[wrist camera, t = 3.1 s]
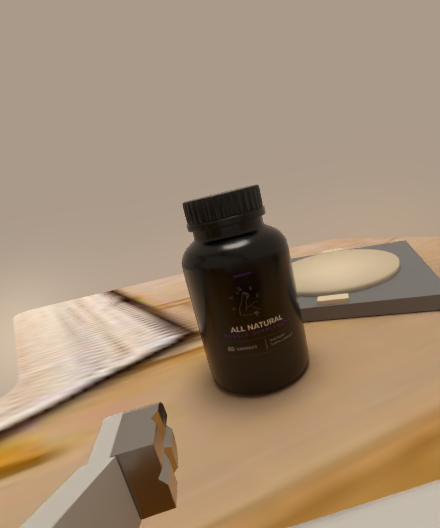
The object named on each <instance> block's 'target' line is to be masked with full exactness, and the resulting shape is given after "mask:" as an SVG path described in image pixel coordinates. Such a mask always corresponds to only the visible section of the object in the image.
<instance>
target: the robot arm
mask: <svg viewBox="0 0 440 528" xmlns="http://www.w3.org/2000/svg"><path fill="white" fill-rule="evenodd" d="M166 422H167V414H166V411H165V408H164V406H163V404H162V403H161V402H158V403H155V404H151V405H147V406H144V407H140V408H136V409H133V410H129V411H125V412H121V413H118V414H115V415H111V416H108V417H106V418H105V419H104V420H103V423H102V425H101V428H100V431H99V433H98V436H97V439H96V441H95V444H94V447H93V449H92V452H91V455H90V457H89V460H88V462H87V465H84V466H81V467H80V468H79V469H78V470H77V471H76V472H75V473H74V474H73V475H72V476H71V477H70V478H69V479H68V480H67V481H66V482H65V483H64V484H63V485H62V486H61V487H60V488H59V489H58V490H57V491H56V492H55V493H54V494H53V495H52V496H51V497H50V498H49V499H48V500H47V501H46V502H45V503H44V504H43V505H42V506H41V507H40V508H39V509H38V510H37V511H36V512H35V513H34V514H33V515H32V516H31V517H30V518H29V519H28V520H27V521H26V522H25V523H24V524H23V525H22V526H21V527H20V528H139V526H140V524H141V520H142V519H145V518H147V517H150V516H153V515H156V514H159V513H162V512H165V511H168V510H171V509H174V508H176V503H177V480H176V477H175V474H174V472H175V471H176V469H177V468H178V454H177V446H176V441H175V437H174V434H173V431H172V429H171V428H170V427H168V426H167V425H166ZM289 528H440V479H439V480H436V481H433V482H430V483H427V484H423V485H420V486H417V487H414V488H411V489H408V490H405V491H402V492H398V493H395V494H392V495H389V496H386V497H383V498H380V499H376V500H373V501H370V502H367V503H364V504H361V505H358V506H355V507H351V508H348V509H345V510H342V511H339V512H336V513H333V514H330V515H326V516H323V517H320V518H317V519H314V520H311V521H307V522H304V523H301V524H298V525H295V526H292V527H289Z"/></svg>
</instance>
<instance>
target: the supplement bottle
mask: <svg viewBox="0 0 440 528" xmlns="http://www.w3.org/2000/svg"><path fill="white" fill-rule="evenodd" d="M183 209H184V213H185V217H186V220H187V223H188V224H187V228H188V231H189V232H193V235H194V242H192V243H191V244H190V246H189V247H188V248H187V249H186V251H185V253H184V255H183V259H182V268H183V272H184V276H185V280H186V283H187V287H188V291H189V294H190V298H191V302H192V305H193V309H194V313H195V316H196V320H197V324H198V327H199V331H200V334H201V338H202V342H203V345H204V349H205V353H206V356H207V360H208V363H209V367H210V370H211V373H212V375H213V377H214V379H215V380H216V381H217V383H219V384H220V385H221V386H223V387H224V388H226V389H228V390H230V391H233V392H237V393H244V394H257V393H264V392H269V391H272V390H276V389H278V388H281V387H283V386H285V385H287V384H289V383H290V382H292V381H293V380H295V379H296V378H297V377H298V376H299V375H300V374H301V373H302V372H303V370H304V369H305V367H306V365H307V362H308V347H307V341H306V335H305V330H304V325H303V320H302V315H301V310H300V304H299V299H298V294H297V289H296V284H295V279H294V273H293V268H292V263H291V258H290V253H289V248H288V244H287V240H286V238H285V236H284V235H283V234H282V233H281V232H280V231H279V230H278V229H276V228H274V227H272V226H269V225H266V224H264V223H263V219H262V215H264V214H265V208H264V206H263V204H262V199H261V194H260V189H259V186H258V185H252V186H247V187H243V188H238V189H235V190H230V191H226V192H222V193H218V194H214V195H210V196H206V197H202V198H198V199H194V200H190V201H187V202H184V203H183Z"/></svg>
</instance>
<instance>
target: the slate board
mask: <svg viewBox="0 0 440 528" xmlns="http://www.w3.org/2000/svg"><path fill="white" fill-rule="evenodd" d="M291 263H292V268H293V273H294V279H295V284H296V289H297V294H298V299H299V304H300V310H301V315H302V320H303V322H307V321H319V320H330V319H342V318H353V317H365V316H376V315H388V314H399V313H411V312H422V311H434V310H440V278H439V277H438V276H437V275H436V274H435V273H434V272H433V271H432V270H431V268H430V267H429V266H428V265H427V264H426V263H425V262H424V261H423V260H422V258H421V257H420V256H419V255H418V254H417V253H416V252H415V251H414V249H413V248H412V247H411V246H410V245H409V244H408V243H407V242H406V241H399V242H393V243H387V244H380V245H374V246H368V247H362V248H355V249H349V250H343V248H338V249H332V250H326V251H322V254H318V255H312V256H306V257H300V258H293V259H291Z"/></svg>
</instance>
